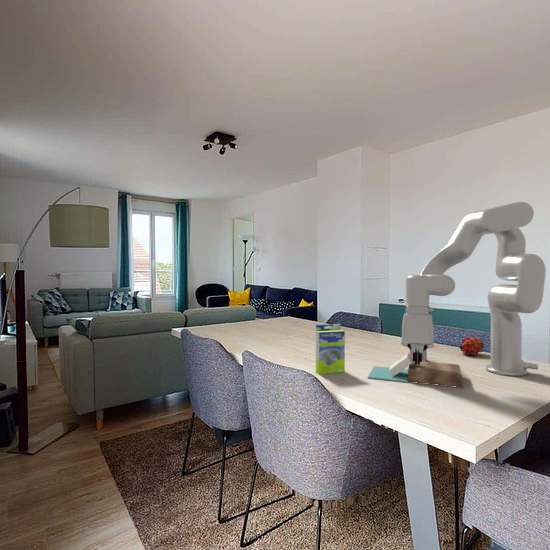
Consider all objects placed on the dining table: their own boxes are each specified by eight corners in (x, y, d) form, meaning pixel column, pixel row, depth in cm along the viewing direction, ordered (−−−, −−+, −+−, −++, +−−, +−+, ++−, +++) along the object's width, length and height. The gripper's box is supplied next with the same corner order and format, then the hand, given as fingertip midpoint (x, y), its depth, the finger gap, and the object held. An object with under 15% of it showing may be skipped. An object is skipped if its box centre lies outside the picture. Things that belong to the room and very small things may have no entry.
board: (458, 376, 128) (458, 364, 128) (461, 388, 115) (462, 375, 115) (410, 371, 134) (410, 360, 134) (407, 382, 121) (407, 370, 121)
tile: (413, 358, 130) (408, 352, 131) (412, 363, 124) (407, 357, 124) (395, 371, 132) (390, 365, 133) (393, 376, 126) (388, 370, 127)
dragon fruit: (485, 357, 160) (463, 363, 157) (471, 343, 166) (449, 349, 163) (493, 344, 155) (470, 350, 151) (478, 330, 161) (456, 336, 158)
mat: (410, 370, 135) (410, 369, 135) (407, 382, 121) (407, 381, 121) (374, 367, 140) (374, 366, 140) (367, 378, 126) (367, 376, 126)
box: (319, 374, 131) (318, 326, 130) (314, 371, 135) (314, 324, 134) (345, 372, 134) (345, 325, 133) (340, 369, 138) (340, 323, 137)
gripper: (440, 310, 127) (440, 363, 127) (395, 308, 133) (395, 359, 133) (441, 312, 120) (441, 368, 120) (393, 311, 126) (393, 364, 126)
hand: (417, 363), depth 126 cm, fingers closed
